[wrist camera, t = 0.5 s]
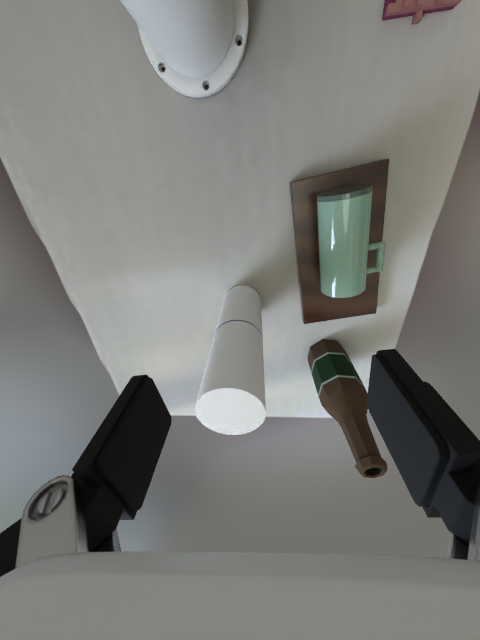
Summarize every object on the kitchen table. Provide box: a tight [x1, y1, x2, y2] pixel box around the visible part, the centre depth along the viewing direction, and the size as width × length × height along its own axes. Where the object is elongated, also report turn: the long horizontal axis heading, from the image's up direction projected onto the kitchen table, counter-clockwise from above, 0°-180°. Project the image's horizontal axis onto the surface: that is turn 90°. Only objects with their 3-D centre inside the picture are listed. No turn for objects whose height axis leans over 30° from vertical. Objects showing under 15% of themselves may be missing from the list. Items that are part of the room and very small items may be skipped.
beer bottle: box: [308, 340, 387, 478], centre depth 40 cm, size 8×8×24 cm
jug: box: [317, 184, 385, 298], centre depth 34 cm, size 7×9×14 cm
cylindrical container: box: [195, 285, 266, 435], centre depth 34 cm, size 7×7×25 cm
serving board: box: [290, 159, 389, 324], centre depth 39 cm, size 24×13×2 cm, turn 12°
